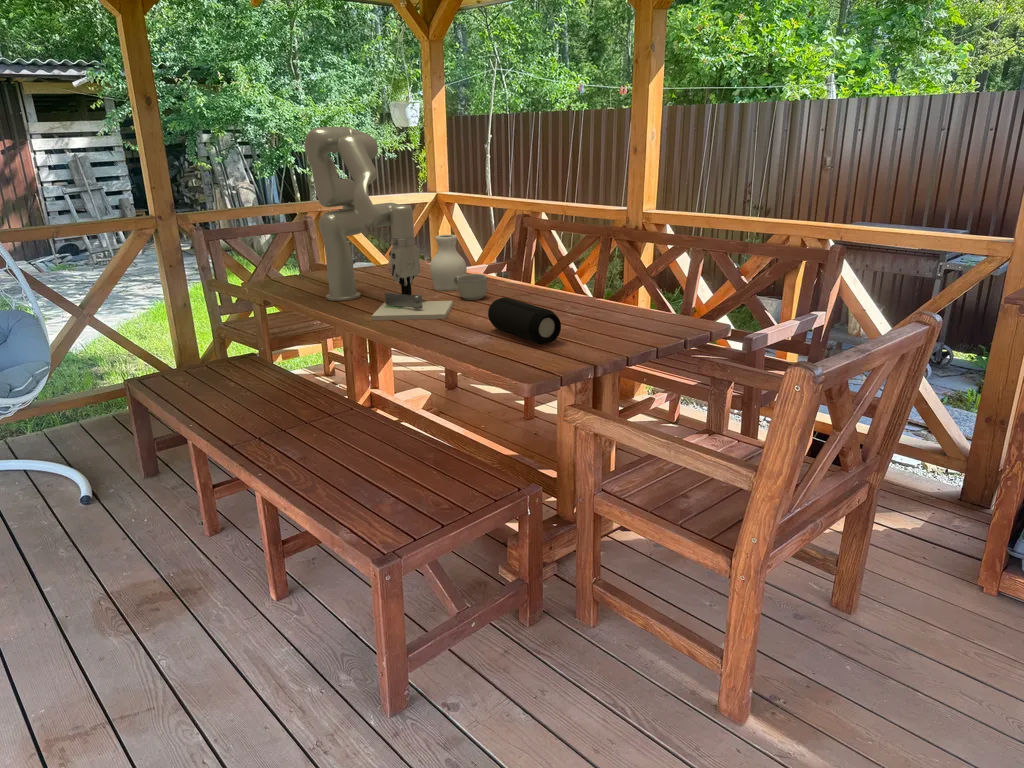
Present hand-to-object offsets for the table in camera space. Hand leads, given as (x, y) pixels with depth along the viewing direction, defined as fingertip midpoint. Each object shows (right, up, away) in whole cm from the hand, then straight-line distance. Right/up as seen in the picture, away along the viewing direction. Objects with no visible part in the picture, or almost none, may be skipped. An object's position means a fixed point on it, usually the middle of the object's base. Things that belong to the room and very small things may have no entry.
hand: (406, 295), depth 252 cm
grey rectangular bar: (0, -4, -7) cm, 8 cm away
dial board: (+3, -6, -6) cm, 9 cm away
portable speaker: (+40, -17, -39) cm, 58 cm away
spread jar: (-12, +19, +71) cm, 74 cm away
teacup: (+21, +1, +13) cm, 25 cm away
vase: (+12, +7, +31) cm, 34 cm away
